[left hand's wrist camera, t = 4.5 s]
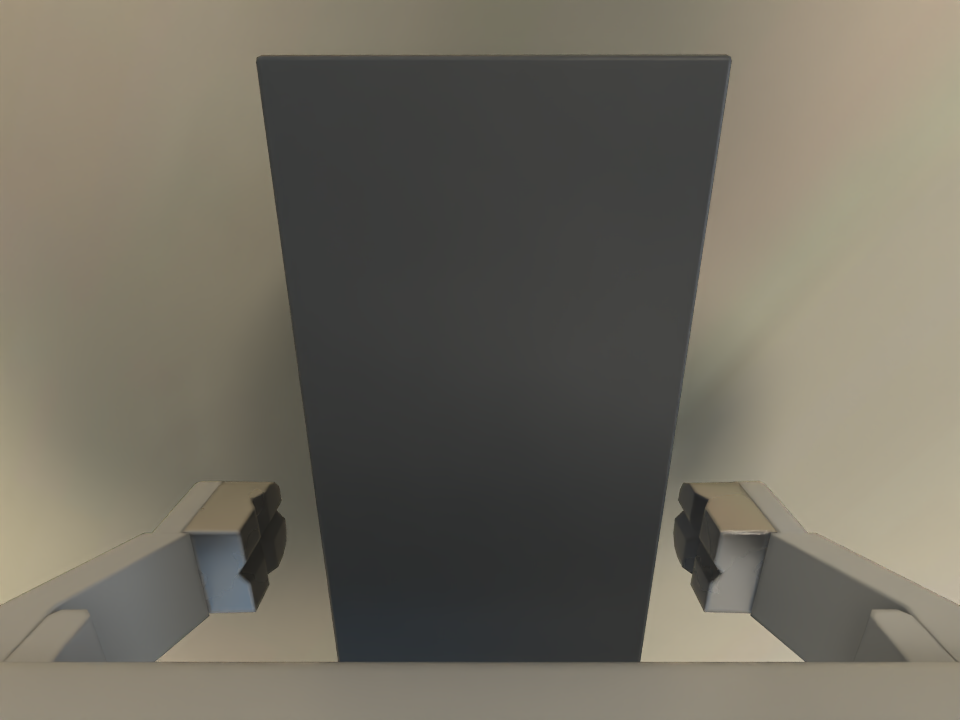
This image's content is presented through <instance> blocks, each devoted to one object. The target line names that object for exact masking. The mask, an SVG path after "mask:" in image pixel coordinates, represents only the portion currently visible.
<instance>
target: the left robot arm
mask: <svg viewBox="0 0 960 720" xmlns="http://www.w3.org/2000/svg"><path fill="white" fill-rule="evenodd" d="M281 501H282V499H281V494H280V489H279V486H278V485H277V484H276V483H275V482H239V481H226V482H224V481H201V482H198V483H195V484H194V486H193V487H192V488H191V489H190V490H189V491H188V492H187V494H186V495H185V496H184V497H183V498H182V499H181V500H180V502H179V503H178V504H177V505H176V506H175V507H174V508H173V510H172V511H171V512H170V513H169V514H168V515H167V516H166V518H165V519H164V520H163V521H162V522H161V523H160V524H159V526H158V527H157V528H156V529H155V530H154V531H153V532H152V533H143V534H141V535H139V536H137V537H135V538H133V539H131V540H129V541H127V542H125V543H123V544H121V545H119V546H117V547H115V548H113V549H111V550H109V551H107V552H105V553H103V554H101V555H99V556H97V557H95V558H93V559H91V560H89V561H87V562H85V563H83V564H81V565H79V566H77V567H75V568H73V569H71V570H69V571H67V572H65V573H63V574H61V575H59V576H57V577H55V578H53V579H51V580H49V581H47V582H45V583H43V584H41V585H39V586H38V587H36V588H34V589H32V590H30V591H28V592H26V593H24V594H22V595H20V596H18V597H16V598H14V599H12V600H10V601H8V602H6V603H4V604H2V605H0V720H960V605H958V604H956V603H954V602H952V601H950V600H948V599H946V598H944V597H942V596H940V595H938V594H936V593H934V592H932V591H930V590H928V589H926V588H924V587H922V586H920V585H918V584H916V583H914V582H912V581H910V580H908V579H906V578H904V577H902V576H900V575H898V574H896V573H894V572H892V571H890V570H888V569H886V568H885V567H883V566H881V565H879V564H877V563H875V562H873V561H871V560H869V559H867V558H865V557H863V556H861V555H859V554H857V553H855V552H853V551H851V550H849V549H847V548H845V547H843V546H841V545H839V544H837V543H835V542H833V541H831V540H829V539H827V538H825V537H823V536H821V535H819V534H817V533H808V532H807V531H806V530H805V529H804V528H803V527H802V526H801V524H800V523H799V522H798V521H797V520H796V519H795V518H794V516H793V515H792V514H791V513H790V512H789V511H788V510H787V508H786V507H785V506H784V505H783V504H782V503H781V502H780V500H779V499H778V498H777V497H776V496H775V495H774V494H773V492H772V491H771V490H770V489H769V488H768V487H767V486H766V484H764V483H762V482H760V481H738V482H711V483H683V485H682V487H681V489H680V493H679V498H678V501H679V503H680V504H681V506H682V508H683V511H682V512H681V513H680V514H679V515H678V516H677V517H676V518H675V524H674V531H673V535H674V547H675V550H676V554H677V557H678V559H679V561H680V564H681V566H682V567H683V568H684V569H686V570H687V571H689V572H690V573H691V574H692V579H691V586H692V588H693V590H694V592H695V594H696V596H697V598H698V600H699V602H700V604H701V606H702V608H703V610H704V612H724V613H751V616H752V617H753V618H754V619H755V620H757V621H758V622H759V623H760V624H761V625H762V626H764V627H765V628H766V629H767V630H768V631H770V632H771V633H772V634H773V635H774V636H776V637H777V638H778V639H779V640H780V641H781V642H783V643H784V644H785V645H786V646H787V647H789V648H790V649H791V650H792V651H793V652H794V653H796V654H797V655H798V656H799V657H800V658H802V659H803V660H804V661H805V662H155V661H156V660H157V659H159V658H160V657H161V656H162V655H163V654H164V653H166V652H167V651H168V650H169V649H170V648H172V647H173V646H174V645H175V644H176V643H178V642H179V641H180V640H181V639H182V638H183V637H185V636H186V635H187V634H188V633H189V632H191V631H192V630H193V629H194V628H195V627H197V626H198V625H199V624H200V623H201V622H203V621H204V620H205V619H206V618H207V617H208V616H209V613H235V612H256V610H257V608H258V606H259V604H260V602H261V600H262V598H263V596H264V594H265V592H266V590H267V588H268V586H269V579H268V574H269V573H270V572H271V571H273V570H274V569H276V568H277V567H278V566H279V564H280V561H281V559H282V557H283V554H284V549H285V545H286V523H285V518H284V517H283V516H282V515H281V514H280V513H279V512H278V511H277V508H278V506H279V504H280V503H281Z"/></svg>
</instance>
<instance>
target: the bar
mask: <svg viewBox="0 0 960 720" xmlns="http://www.w3.org/2000/svg"><path fill="white" fill-rule="evenodd" d="M731 62H732V60H731V57H730V56H728V55H261V56H259V57H257V60H256V64H257V72H258V79H259V86H260V94H261V101H262V108H263V116H264V123H265V130H266V138H267V145H268V152H269V159H270V167H271V174H272V181H273V189H274V196H275V203H276V211H277V218H278V225H279V232H280V240H281V247H282V254H283V262H284V269H285V276H286V284H287V291H288V298H289V306H290V313H291V320H292V327H293V335H294V342H295V349H296V357H297V364H298V371H299V379H300V386H301V393H302V401H303V408H304V415H305V422H306V430H307V437H308V444H309V452H310V459H311V466H312V474H313V481H314V488H315V496H316V503H317V510H318V517H319V525H320V532H321V539H322V547H323V554H324V561H325V569H326V576H327V583H328V590H329V598H330V605H331V612H332V620H333V627H334V634H335V642H336V649H337V656H338V662H640V659H641V653H642V646H643V639H644V633H645V626H646V620H647V613H648V607H649V600H650V594H651V587H652V580H653V574H654V567H655V561H656V554H657V548H658V541H659V534H660V528H661V521H662V515H663V508H664V502H665V495H666V488H667V482H668V475H669V469H670V462H671V456H672V449H673V443H674V436H675V429H676V423H677V416H678V410H679V403H680V397H681V390H682V383H683V377H684V370H685V364H686V357H687V351H688V344H689V338H690V331H691V324H692V318H693V311H694V305H695V298H696V292H697V285H698V278H699V272H700V265H701V259H702V252H703V246H704V239H705V233H706V226H707V219H708V213H709V206H710V200H711V193H712V187H713V180H714V173H715V167H716V160H717V154H718V147H719V141H720V134H721V127H722V121H723V114H724V108H725V101H726V95H727V88H728V82H729V75H730V68H731Z"/></svg>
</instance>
